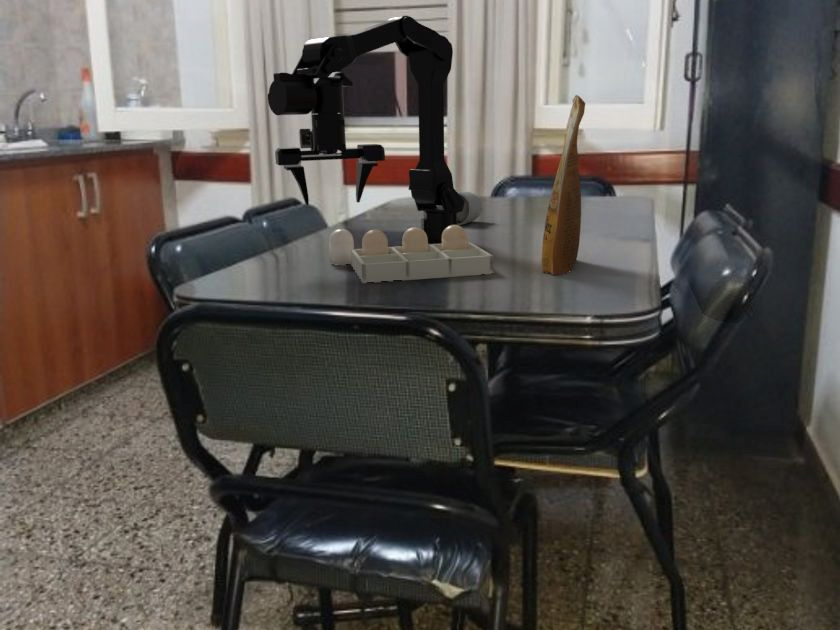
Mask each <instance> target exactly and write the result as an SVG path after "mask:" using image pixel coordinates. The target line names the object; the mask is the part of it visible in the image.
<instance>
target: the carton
mask: <svg viewBox="0 0 840 630" xmlns="http://www.w3.org/2000/svg"><path fill="white" fill-rule="evenodd" d="M401 239H402V241H401V242H402V243H401V244H402V246H399V245H398V246H389V242H388V241H389V240H388V237H387V235H386V234H385V233H384V232H383V231H381V230H379V229H370V230H369V231H367V232H365V233H364V235H363V237H362V240H361V245H362V246H361V247H362V248H354V249H351V268H352V267H353V268H352V269H353V270H355V271H354V272H355V274H356V273H357V274H356V275H357V277H358V276H359V277H358V278H359V280H360V279H361V280H360V282H361V283H362V284H368V283H367V282H374V283H382V282H381V281H388V282H394V281H393V280H402V281H414V280H426V279H427V280H428V279H430V280H431V279H443V278H453V277H455V278H456V277H467V276H468V277H470V276H480V275H481V274H485V275H492V274H491V273H493V274H494V255H492V254H490V253H489V252H487V251H486V250H484V249H482V248H481V247H479V246H477V245H476V244H474V243H473V242H471V241H468V235H467V232H466V230H465V229H464V228H463V227H462V226H461V225H460V226H458V225H450V226H448V227H447V228H445V230H444V231H443V233H442V243H438V244H428V238H427V235H426V233H425V232H424V230H422V229H421V227H416V226H414V227H413V226H412V227H410V228H408V229H406V230H405V231H404V233H403V235H402V238H401ZM481 276H482V275H481Z"/></svg>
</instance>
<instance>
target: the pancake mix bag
mask: <svg viewBox="0 0 840 630" xmlns="http://www.w3.org/2000/svg"><path fill="white" fill-rule="evenodd" d="M571 102H572V105H571V108H570V113H569V116H568V119H567V123H566V128H565V135H564V138H563V139H564V140H563V147H562V152H561V156H560V161H559V165H558V168H557V172H556V174H555V175H556V176H555V179H554V183H553V186H552V191H551V194H550V200H549V204H548V207H547V213H546V216H545V217H546V218H545V222H544V230H543V237H542V246H541V247H542V249H541V250H542V252H541V267H542V273H544V272H545V274H551V275H554V276H555V275H557V274H560V275H563V274H562V273H566V274H568V273H567V272H569V271H571V272H572V270H573V268H574V266H575V263H576V262H577V258H578V253H579V247H580V241H581V240H580V239H581V228H582V227H581V224H582V190H581V179H580V167H579V166H580V163H579V161H580V160H579V153H578V151H579V150H578V134H579V130H580V129H579V128H580V125H581V121H582V119H583V117H584V115H585V109H586V102H585V101H584V100H583V98H581V97H580V96H579V95H577V94H576V95H574V97H573V99H572V101H571ZM569 273H570V272H569ZM557 276H558V275H557Z"/></svg>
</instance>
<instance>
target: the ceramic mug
mask: <svg viewBox="0 0 840 630" xmlns="http://www.w3.org/2000/svg"><path fill="white" fill-rule="evenodd" d="M456 192H457V191H456ZM457 193H458V194H459V195H460V197H461V198H462V199H463V200H464V207H463V211H462V212H458V213H457V225H458V226H460V227H461V226H462V225H466V224H469V223H472V222H474V221H476V220H477V219H478V218H479V217H480V215H481V213H482V210H483V204H482V201H481V199H480V198H479V196H478V195H477V194H475V193H474V192H470V191H458V192H457Z"/></svg>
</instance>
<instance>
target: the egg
mask: <svg viewBox="0 0 840 630" xmlns="http://www.w3.org/2000/svg"><path fill="white" fill-rule="evenodd" d="M354 241H355V240H354V236H353V235H352V233H351V232H350V231H349V230H348V229H344V228H339V229H336V230H333V231H332V233H331V234H330V236H329V239H328V246H329V248H328V249H329V264H330V263H332V264H338V265H342V266H346V265H345V264H351V249H355V245H354V243H355V242H354Z"/></svg>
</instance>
